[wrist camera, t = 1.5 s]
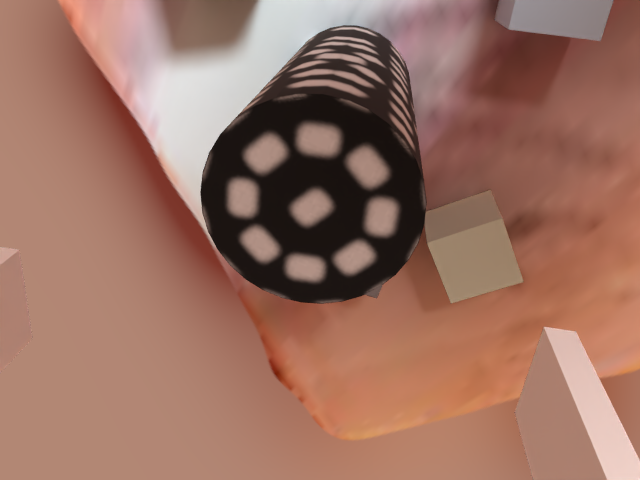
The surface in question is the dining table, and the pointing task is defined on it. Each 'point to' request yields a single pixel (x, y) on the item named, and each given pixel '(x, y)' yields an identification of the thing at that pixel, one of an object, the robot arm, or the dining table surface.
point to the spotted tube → (321, 173)
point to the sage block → (471, 247)
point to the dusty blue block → (556, 17)
